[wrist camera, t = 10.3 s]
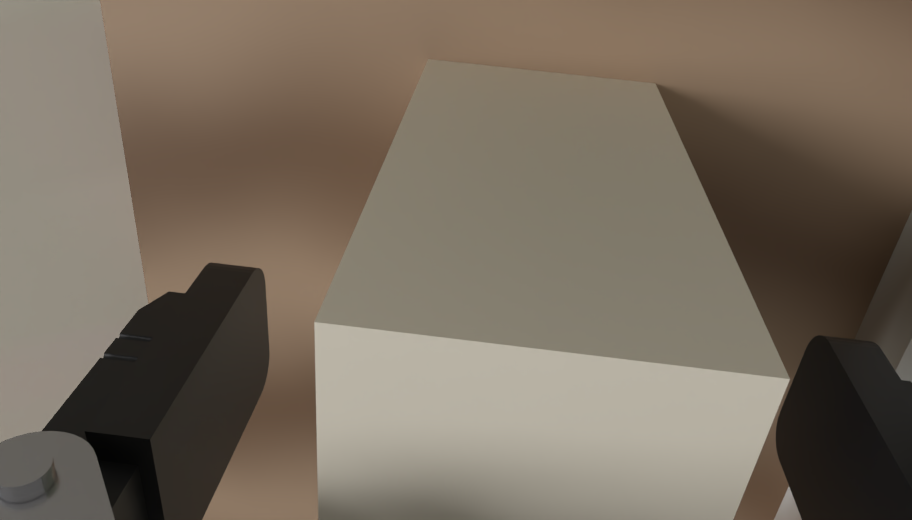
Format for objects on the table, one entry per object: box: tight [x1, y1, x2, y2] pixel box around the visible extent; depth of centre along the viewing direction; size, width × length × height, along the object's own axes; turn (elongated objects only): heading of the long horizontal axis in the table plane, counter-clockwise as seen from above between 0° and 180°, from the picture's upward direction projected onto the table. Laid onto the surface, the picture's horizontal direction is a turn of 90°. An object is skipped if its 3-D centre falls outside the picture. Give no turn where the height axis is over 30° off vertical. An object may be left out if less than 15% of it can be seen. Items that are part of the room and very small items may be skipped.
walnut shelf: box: [100, 0, 912, 520], centre depth 15 cm, size 28×16×4 cm, turn 175°
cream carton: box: [314, 59, 790, 520], centre depth 11 cm, size 6×4×8 cm
